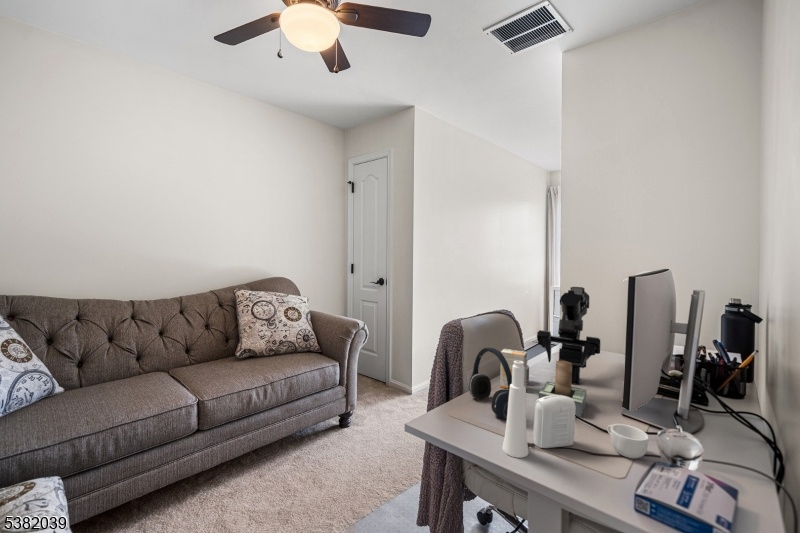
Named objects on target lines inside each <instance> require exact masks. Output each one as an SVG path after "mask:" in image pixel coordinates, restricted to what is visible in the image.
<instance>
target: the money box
mask: <svg viewBox="0 0 800 533" xmlns="http://www.w3.org/2000/svg"><path fill="white" fill-rule="evenodd" d="M550 395H556V394H555V382H552V381H546V382H545V384H544V385H543V387H541V389H540V390H539V392H538V399H540V398H542V397H545V396H550ZM571 399H573V400H574V402H575V406H576V411H575V415H576V416H577V418H581V419H582V416H583V413H584V410H585V406H586V405H587V389H585V388H579V387H577V386H571ZM576 416H575V417H576Z"/></svg>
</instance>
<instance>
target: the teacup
mask: <svg viewBox="0 0 800 533" xmlns="http://www.w3.org/2000/svg"><path fill="white" fill-rule="evenodd" d="M606 430H607V432H608V435H609V436H610V441H611V442H610V443H611V445H612V447H613V448H614V450H615V451H616V452H617V453H618V454H619V455H621V456H623V457H625V458H629V459H632V460H633V459H640V458H642V457H644V456H645V454H646V453H647V450H648V446H649V435H648V433H646V432H645V431H643V430H642V429H640V428H638V427H635V426H633V425H628V424H624V423H613V424H609V425H608V426H607V428H606Z"/></svg>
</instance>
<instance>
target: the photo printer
mask: <svg viewBox="0 0 800 533" xmlns="http://www.w3.org/2000/svg"><path fill="white" fill-rule="evenodd" d="M575 411H576V406H575V402H574V400H573V399H571V398H570V397H567V396H563V395H550V396H545V397H542V398H540V399H539V398H538V399H536V401H535V402H534V414H533V415H534V416H533V431H532V432H533V433H532V439H533V444H534V445H535V446H536V447H537V448H541V449H550V448H561V447H569V446H573V445H574V442H575V425H576V416H575Z"/></svg>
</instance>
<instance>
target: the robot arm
mask: <svg viewBox="0 0 800 533" xmlns="http://www.w3.org/2000/svg"><path fill="white" fill-rule="evenodd" d="M559 305H560V307H561V308H560V309H561V313H562V317H561V318H560V319H559V323H558V331H557V335H558V336H557V335H552V334H551V330H550V331H549V330H541V329H540V330H538V331H537V333H536V338H537V344H538V345H539V346H541V347H542V348H544V349H545V351H546V355H547V360H548V363H551V359H552V343H560V344H561V347H560V348H559V350H558V361H568V362H570V363H572V381H571V385H572V384H573V385H576V386H577V385H578V386H580V384H581V383H582V378H580V376H581V375H580V374H581V369H584V368H587V361H588V360H589V358H590V357H592V356H596V355H599V354H601V338H600V337H597V336H596V337H595V336H586V338H585V339H581V332H583V330H584V320H583V317H584V316H585V315H587V314H588V309H590V294H588V293H587V291H586V290H585V287H582V286H570V289H569V290H567V292H564V293H563V294H562V295H561V296H560V299H559Z"/></svg>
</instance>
